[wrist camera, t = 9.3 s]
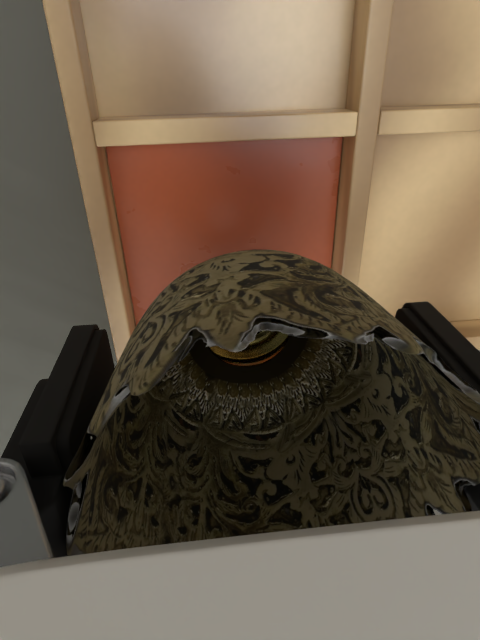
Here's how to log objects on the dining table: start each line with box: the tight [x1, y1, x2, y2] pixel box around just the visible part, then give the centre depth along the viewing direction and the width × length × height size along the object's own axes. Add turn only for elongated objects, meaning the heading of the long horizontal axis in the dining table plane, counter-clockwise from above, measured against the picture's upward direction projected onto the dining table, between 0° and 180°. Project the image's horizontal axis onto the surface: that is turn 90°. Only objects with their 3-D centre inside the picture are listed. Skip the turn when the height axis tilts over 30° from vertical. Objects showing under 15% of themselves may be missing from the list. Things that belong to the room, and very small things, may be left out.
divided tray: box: [42, 0, 480, 363], centre depth 16 cm, size 20×20×2 cm
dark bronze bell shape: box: [63, 249, 480, 556], centre depth 11 cm, size 8×7×8 cm
